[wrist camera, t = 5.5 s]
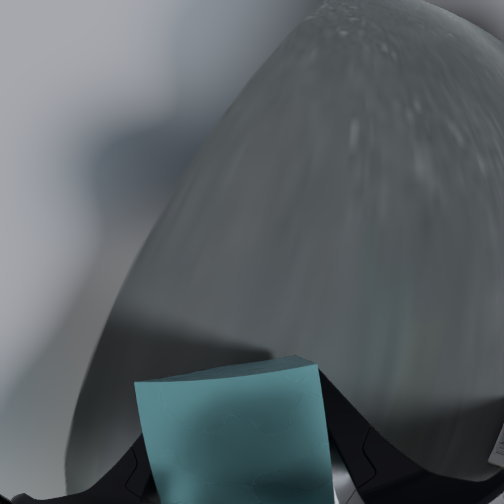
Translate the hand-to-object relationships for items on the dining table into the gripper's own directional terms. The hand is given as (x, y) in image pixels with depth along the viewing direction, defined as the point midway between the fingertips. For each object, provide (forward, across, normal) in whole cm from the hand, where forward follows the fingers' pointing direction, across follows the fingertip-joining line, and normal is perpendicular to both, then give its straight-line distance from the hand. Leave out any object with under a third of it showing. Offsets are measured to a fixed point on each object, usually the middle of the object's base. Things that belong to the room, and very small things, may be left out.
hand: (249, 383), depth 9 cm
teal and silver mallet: (-1, 0, +8) cm, 8 cm away
